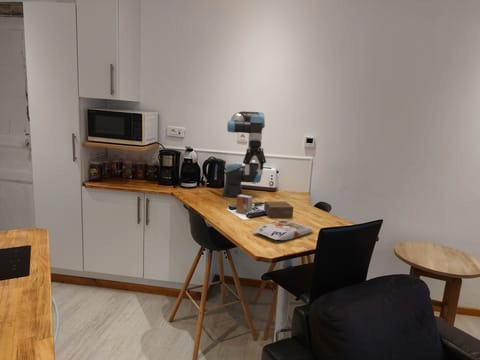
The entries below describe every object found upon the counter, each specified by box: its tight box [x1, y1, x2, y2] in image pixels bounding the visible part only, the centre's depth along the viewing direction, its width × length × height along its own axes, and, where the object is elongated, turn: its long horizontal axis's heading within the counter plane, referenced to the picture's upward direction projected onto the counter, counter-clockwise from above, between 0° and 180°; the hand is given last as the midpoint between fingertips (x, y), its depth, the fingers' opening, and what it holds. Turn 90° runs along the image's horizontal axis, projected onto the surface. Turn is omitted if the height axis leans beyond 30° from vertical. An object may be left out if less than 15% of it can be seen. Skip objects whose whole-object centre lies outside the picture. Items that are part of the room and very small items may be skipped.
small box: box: [235, 194, 253, 215], centre depth 220 cm, size 8×6×10 cm
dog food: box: [252, 219, 315, 241], centre depth 185 cm, size 30×18×5 cm, turn 133°
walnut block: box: [263, 201, 294, 219], centre depth 219 cm, size 14×14×7 cm
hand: (253, 174), depth 224 cm, fingers open, 13 cm apart
